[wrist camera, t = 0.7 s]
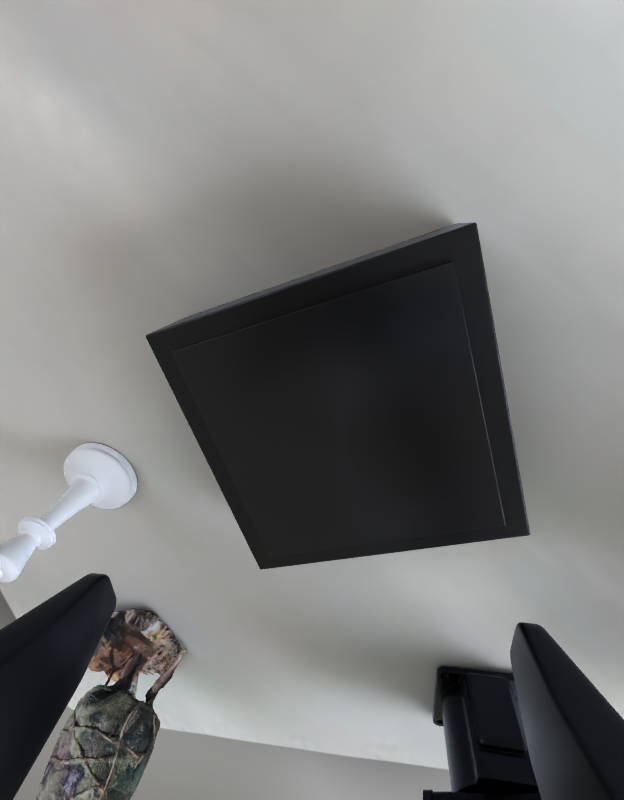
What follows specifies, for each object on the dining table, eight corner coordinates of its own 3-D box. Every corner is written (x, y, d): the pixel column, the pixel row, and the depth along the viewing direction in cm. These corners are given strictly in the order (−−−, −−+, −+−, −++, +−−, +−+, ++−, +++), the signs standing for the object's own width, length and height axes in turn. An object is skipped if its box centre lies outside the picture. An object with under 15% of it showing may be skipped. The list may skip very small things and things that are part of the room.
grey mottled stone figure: (220, 669, 33) (26, 1199, 15) (110, 668, 36) (-166, 1114, 18) (186, 601, 30) (-105, 1154, 12) (69, 605, 33) (-309, 1062, 15)
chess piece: (65, 435, 25) (-109, 549, 16) (135, 451, 25) (-4, 576, 16) (74, 495, 28) (-76, 625, 19) (139, 510, 27) (18, 651, 18)
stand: (506, 484, 22) (532, 538, 18) (277, 521, 25) (259, 573, 22) (456, 223, 17) (477, 221, 13) (185, 316, 21) (141, 336, 17)
